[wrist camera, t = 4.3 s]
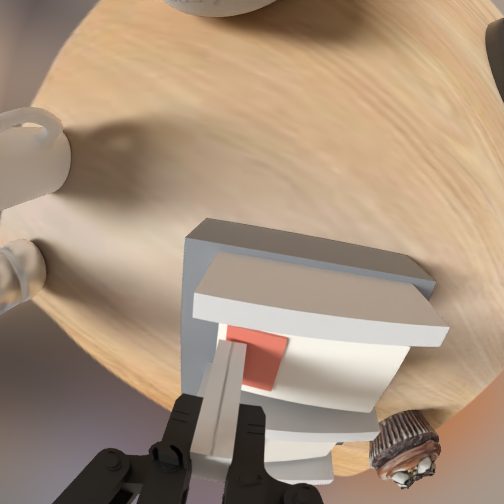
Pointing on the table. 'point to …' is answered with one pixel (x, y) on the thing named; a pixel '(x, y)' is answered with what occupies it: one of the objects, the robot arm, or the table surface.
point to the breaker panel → (299, 318)
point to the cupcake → (404, 448)
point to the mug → (31, 156)
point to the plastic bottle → (20, 273)
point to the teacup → (217, 6)
